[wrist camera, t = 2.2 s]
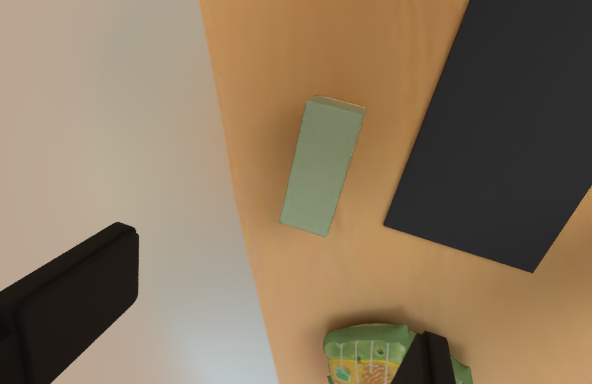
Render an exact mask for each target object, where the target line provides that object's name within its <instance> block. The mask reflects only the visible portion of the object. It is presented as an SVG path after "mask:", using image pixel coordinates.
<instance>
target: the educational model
mask: <svg viewBox="0 0 592 384" xmlns="http://www.w3.org/2000/svg"><path fill="white" fill-rule="evenodd" d="M416 334H417V333H415V332H412V331H411V330H408V325H407V324H399V325H393V324H387V323H367V324H360V325H355V326H350V327H347V328H343V329H338V330H332V331H330V332H328V333H327V334H326V335H325V337H324V341H323V349H324V352H325V354H326V356H327V358H328V366H329V372H330V376H327V378H328V381H329V384H391V382H392V380H393V378H394V376H395V374H396V372H397V370H398V368H399V366H400V364H401V362H402V360H403V358H404V356H405V354H406V352H407V351H408V349H409V347H410V345H411V343H412V341H413V339H414V337H415V335H416ZM450 356H451V361H452V366H453V371H454V375H455V380H456V384H473V381H472V377H471V370H470V367H468V366H465V365H463V364H461V363H460V362H459V361H458V360H456V359H455V358H454V357H453V356H452V355H451V354H450Z"/></svg>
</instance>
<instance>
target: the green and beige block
mask: <svg viewBox="0 0 592 384" xmlns="http://www.w3.org/2000/svg"><path fill="white" fill-rule="evenodd" d="M365 112H366V108H365V107H364V106H360V105H356V104H352V103H349V102H345V101H341V100H337V99H334V98H330V97H326V96H318V95H315V96H313V97H312V98H310V99H308V100H307V101H306V106H305V110H304V115H303V119H302V123H301V128H300V132H299V137H298V141H297V146H296V150H295V155H294V159H293V164H292V168H291V172H290V177H289V181H288V186H287V190H286V195H285V199H284V204H283V208H282V213H281V217H280V223H283V224H286V225H289V226H292V227H295V228H298V229H301V230H304V231H307V232H310V233H313V234H316V235H319V236H322V237H325V238H326V237H327V235H328V232H329V229H330V226H331V223H332V220H333V217H334V214H335V211H336V207H337V204H338V201H339V198H340V194H341V191H342V188H343V184H344V181H345V178H346V175H347V171H348V168H349V165H350V162H351V158H352V155H353V152H354V148H355V145H356V142H357V139H358V135H359V132H360V129H361V126H362V122H363V119H364V116H365Z"/></svg>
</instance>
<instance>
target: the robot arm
mask: <svg viewBox="0 0 592 384" xmlns="http://www.w3.org/2000/svg"><path fill="white" fill-rule="evenodd" d="M138 268H139V235H138V234H137V233H136V230H135V228H134V227H131V226H129V225H126V224H123V223H120V222H116V223H113V224H112V225H110V226H108V227H107V228H105V229H103V230H102V231H100V232H98V233H97V234H95V235H93V236H92V237H90V238H88V239H87V240H85V241H84V242H82V243H80V244H79V245H77V246H75V247H73V248H72V249H70V250H69V251H67V252H65V253H63V254H62V255H60V256H59V257H57V258H55V259H53V260H52V261H50V262H48V263H47V264H45V265H43V266H42V267H40V268H38V269H37V270H35V271H34V272H32V273H30V274H29V275H27V276H25V277H24V278H22V279H20V280H19V281H17V282H15V283H14V284H12V285H10V286H9V287H7V288H5V289H4V290H2V291H0V384H50V383H52V381H54V380H55V379H56V378H57V377H58V376H59V375H60V374H61V373H62V372H63V371H64V370H65V369H66V368H67V367H68V366H69V365H70V364H71V363H72V362H73V361H74V360H75V359H76V358H77V357H78V356H80V355H81V354H82V353H83V352H84V351H85V350H86V349H87V348H88V347H89V346H90V345H91V344H92V343H93V342H94V341H95V340H96V339H97V338H98V337H99V336H100V335H101V334H102V333H103V332H104V331H105V330H107V328H109V327H110V326H111V325H112V324H113V323H114V322H115V321H116V320H117V319H118V318H119V317H120V316H121V315H122V314H123V313H124V312H125V311H126V310H127V309H128V308H129V307H130V306H131V305H132V304H133V303H134V302H135V300H136V299H137V296H138ZM391 384H456V380H455V375H454V371H453V366H452V361H451V356H450V351H449V347H448V342H447V339H446V338H445V337H442V336H439V335H436V334H434V333H431V332H428V331H425V332H423V334H422V335H421V334H418V333H417V334H416V335H415V337H414V339H413V341H412V343H411V345H410V347H409V349H408V351H407V352H406V354H405V356H404V358H403V360H402V362H401V364H400V366H399V368H398V370H397V372H396V374H395V376H394V378H393V380H392V382H391Z"/></svg>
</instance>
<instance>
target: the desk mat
mask: <svg viewBox="0 0 592 384" xmlns="http://www.w3.org/2000/svg"><path fill="white" fill-rule="evenodd" d="M591 185H592V0H470V2H469V5H468V7H467V10H466V12H465V15H464V17H463V20H462V23H461V25H460V28H459V30H458V33H457V36H456V38H455V41H454V43H453V46H452V49H451V51H450V54H449V56H448V59H447V61H446V64H445V67H444V69H443V72H442V74H441V77H440V80H439V82H438V85H437V87H436V90H435V92H434V95H433V98H432V100H431V103H430V105H429V108H428V111H427V113H426V116H425V118H424V121H423V124H422V126H421V129H420V131H419V134H418V136H417V139H416V142H415V144H414V147H413V149H412V152H411V155H410V157H409V160H408V162H407V165H406V167H405V170H404V173H403V175H402V178H401V180H400V183H399V186H398V188H397V191H396V193H395V196H394V199H393V201H392V204H391V206H390V209H389V211H388V214H387V217H386V219H385V222H384V226H386V227H389V228H392V229H396V230H399V231H402V232H405V233H408V234H411V235H414V236H418V237H421V238H424V239H427V240H430V241H433V242H436V243H440V244H443V245H446V246H449V247H452V248H455V249H458V250H462V251H465V252H468V253H471V254H474V255H477V256H480V257H484V258H487V259H490V260H493V261H496V262H499V263H502V264H506V265H509V266H512V267H515V268H518V269H521V270H524V271H527V272H531V273H533V272H534V271H535V269H536V268H537V266H538V265H539V263H540V262H541V260H542V259H543V257H544V256H545V254H546V253H547V251H548V250H549V248H550V247H551V245H552V244H553V242H554V241H555V239H556V238H557V236H558V235H559V233H560V232H561V230H562V229H563V227H564V226H565V224H566V223H567V221H568V220H569V218H570V217H571V215H572V214H573V212H574V211H575V209H576V208H577V206H578V205H579V203H580V202H581V200H582V199H583V197H584V196H585V194H586V193H587V191H588V190H589V188H590V187H591Z"/></svg>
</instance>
